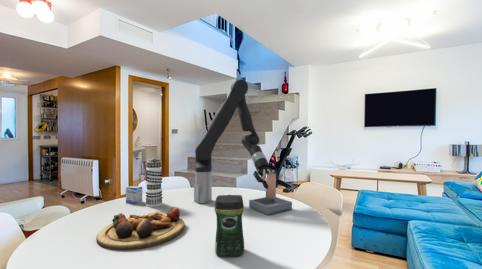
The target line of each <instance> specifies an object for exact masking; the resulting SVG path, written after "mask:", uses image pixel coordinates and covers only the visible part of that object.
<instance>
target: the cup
mask: <svg viewBox="0 0 482 269" xmlns="http://www.w3.org/2000/svg"><path fill="white" fill-rule="evenodd" d="M265 181H266V183H267V185H268V188H267V189H265V197H266V198H276V197H277V193H276V192H277V188H276V174H275V173H266V174H265Z"/></svg>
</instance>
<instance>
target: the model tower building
mask: <svg viewBox="0 0 482 269" xmlns="http://www.w3.org/2000/svg"><path fill="white" fill-rule="evenodd" d="M162 170H163V168H162V160H161V159H160V158H158V157H157V158H156V157H155V158H149V159H148V160H147V161H146V168H145V170H144V174H145V176H144V177H145V181H146V182H145V184H146V190H145V191H146V192H145V194H146V195H145V206H146V207H152V208H153V207H159V206H161V205H163V197H162V196H163V189H162V188H163V187H162V183H163V178H162V177H163V173H164V171H162Z"/></svg>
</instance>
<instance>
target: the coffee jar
mask: <svg viewBox="0 0 482 269" xmlns="http://www.w3.org/2000/svg"><path fill="white" fill-rule="evenodd" d="M244 204H245V203H244V200H243V196H242V194H222V195H217V196H216V198H215V203H214V213H215V215H216V231H215V243H214V252H215V255H217V256H218V257H224V258H225V257H227V258H228V257H230V258H231V257H239V256H242V255H243V254H244V252H245V239H244V231H243V230H244V229H243V213H244V211H245V210H244V208H245V206H244Z"/></svg>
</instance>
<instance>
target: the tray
mask: <svg viewBox="0 0 482 269" xmlns="http://www.w3.org/2000/svg"><path fill="white" fill-rule="evenodd" d="M292 205H293V201H290V200H287V199H284V198H281V197H277V196H276V198H266V196H265V197H259V198H253V199H249V200H248V208H249V209H251V210H253V211H255V212H259V213H260V214H263V215H265V216H273V215H276V214H281V213H284V212H288V211H292V210H293V209H292V208H293V206H292Z"/></svg>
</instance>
